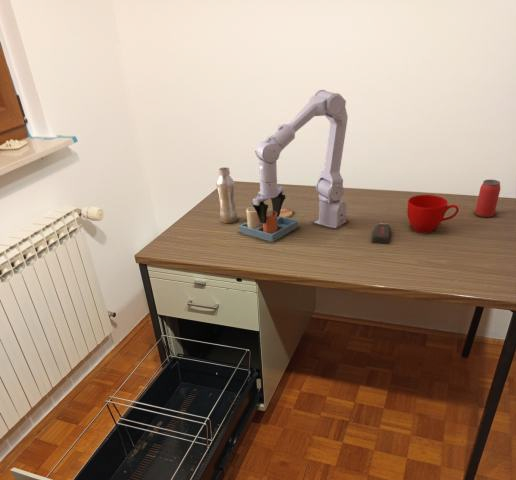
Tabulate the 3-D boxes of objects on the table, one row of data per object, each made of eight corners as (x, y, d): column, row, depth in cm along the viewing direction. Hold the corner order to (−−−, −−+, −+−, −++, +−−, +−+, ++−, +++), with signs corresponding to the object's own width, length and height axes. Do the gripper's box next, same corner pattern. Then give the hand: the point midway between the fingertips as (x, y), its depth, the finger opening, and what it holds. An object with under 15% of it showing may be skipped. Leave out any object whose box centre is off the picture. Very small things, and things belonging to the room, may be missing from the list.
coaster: (297, 212, 192) (297, 211, 192) (283, 220, 186) (283, 219, 186) (278, 208, 197) (278, 207, 196) (264, 215, 191) (264, 214, 191)
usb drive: (372, 242, 167) (373, 234, 165) (375, 228, 176) (376, 221, 174) (388, 243, 165) (389, 235, 164) (390, 229, 175) (391, 222, 173)
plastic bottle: (235, 225, 185) (231, 171, 173) (218, 225, 186) (212, 171, 174) (239, 219, 190) (235, 166, 178) (222, 218, 191) (217, 166, 179)
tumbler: (280, 234, 175) (280, 212, 170) (271, 239, 172) (270, 217, 167) (269, 231, 178) (268, 209, 173) (260, 235, 175) (259, 214, 170)
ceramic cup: (456, 237, 167) (462, 209, 161) (405, 235, 170) (408, 207, 164) (452, 222, 177) (457, 195, 171) (403, 221, 180) (407, 194, 174)
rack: (298, 228, 180) (298, 220, 178) (272, 243, 171) (272, 235, 169) (265, 219, 188) (265, 212, 186) (239, 233, 179) (238, 225, 177)
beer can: (491, 211, 183) (498, 178, 176) (496, 217, 178) (504, 184, 171) (472, 211, 184) (479, 179, 177) (477, 218, 179) (484, 185, 172)
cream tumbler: (264, 229, 179) (263, 208, 174) (255, 234, 176) (254, 213, 171) (254, 226, 182) (252, 205, 177) (244, 231, 179) (243, 210, 174)
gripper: (272, 172, 170) (273, 210, 178) (245, 184, 161) (247, 223, 169) (288, 175, 166) (289, 214, 174) (261, 187, 157) (263, 228, 165)
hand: (269, 219), depth 171 cm, fingers open, 7 cm apart
